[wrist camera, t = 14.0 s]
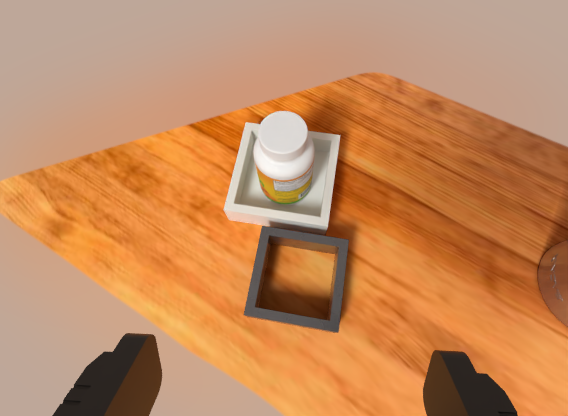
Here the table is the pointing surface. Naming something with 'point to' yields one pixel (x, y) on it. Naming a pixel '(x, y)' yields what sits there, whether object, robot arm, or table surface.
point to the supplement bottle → (284, 158)
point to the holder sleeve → (303, 242)
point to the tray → (300, 217)
